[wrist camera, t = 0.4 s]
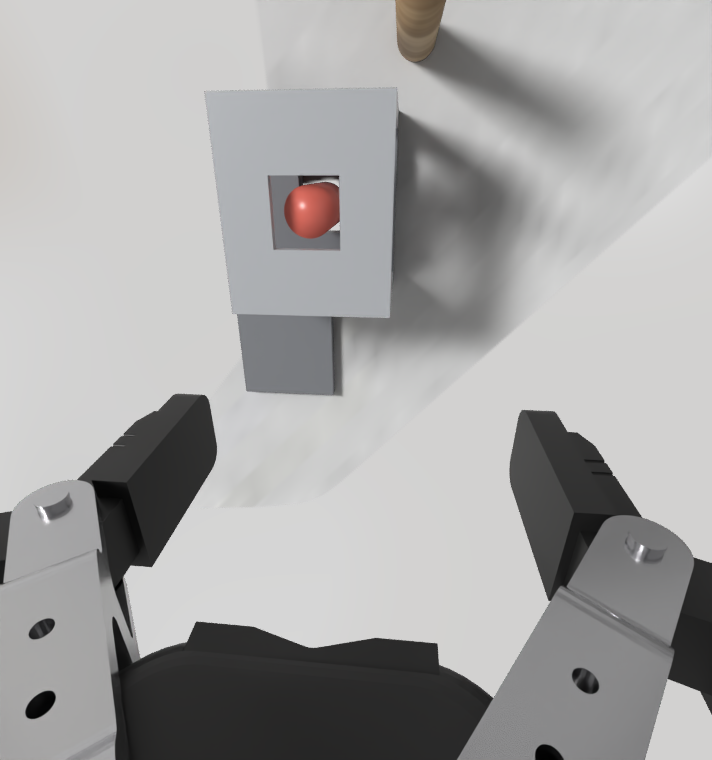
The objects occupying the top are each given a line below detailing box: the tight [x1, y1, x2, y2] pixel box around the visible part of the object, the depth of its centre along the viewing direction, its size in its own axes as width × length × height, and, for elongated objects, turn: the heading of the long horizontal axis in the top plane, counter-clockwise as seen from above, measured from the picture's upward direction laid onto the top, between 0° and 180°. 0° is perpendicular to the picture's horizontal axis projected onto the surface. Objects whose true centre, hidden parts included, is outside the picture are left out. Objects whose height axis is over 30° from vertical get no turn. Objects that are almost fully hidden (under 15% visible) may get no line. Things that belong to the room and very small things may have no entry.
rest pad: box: [237, 314, 334, 395], centre depth 39 cm, size 8×8×1 cm
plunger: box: [284, 182, 340, 239], centre depth 29 cm, size 3×3×6 cm
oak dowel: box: [395, 0, 446, 62], centre depth 23 cm, size 2×2×12 cm
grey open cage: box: [205, 87, 399, 318], centre depth 29 cm, size 12×10×9 cm
